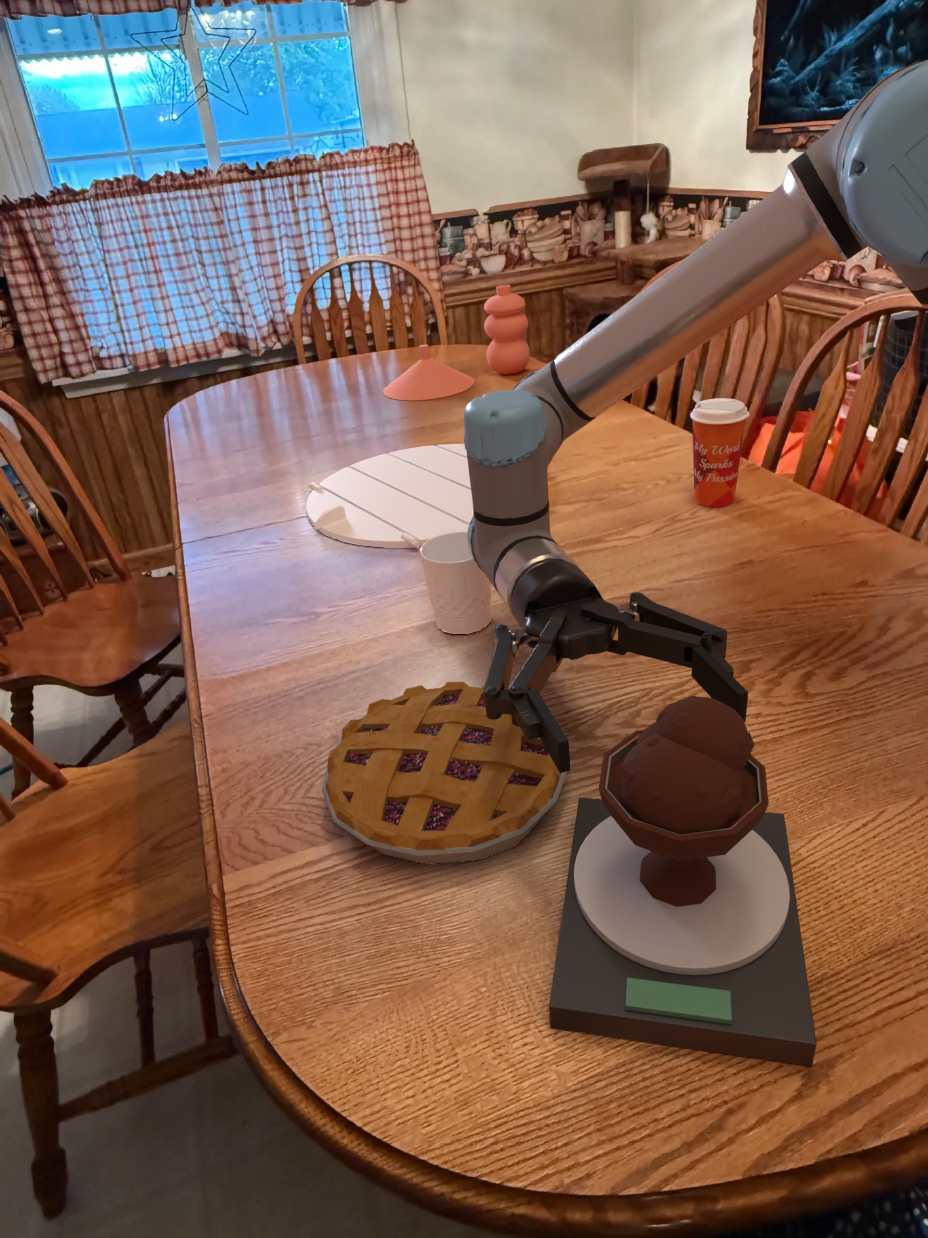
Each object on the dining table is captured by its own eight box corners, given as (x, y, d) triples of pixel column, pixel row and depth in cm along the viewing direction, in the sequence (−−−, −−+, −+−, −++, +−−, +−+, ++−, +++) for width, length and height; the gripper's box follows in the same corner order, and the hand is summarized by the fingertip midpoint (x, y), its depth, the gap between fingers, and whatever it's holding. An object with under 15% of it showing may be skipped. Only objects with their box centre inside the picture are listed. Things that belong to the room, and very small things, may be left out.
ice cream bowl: (632, 804, 66) (632, 648, 58) (776, 851, 60) (798, 686, 52) (575, 900, 58) (567, 737, 50) (733, 964, 53) (752, 792, 45)
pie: (294, 872, 67) (281, 829, 65) (367, 708, 86) (359, 669, 83) (560, 892, 63) (557, 846, 60) (578, 714, 81) (577, 673, 78)
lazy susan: (382, 578, 110) (378, 555, 108) (263, 501, 138) (258, 481, 136) (599, 486, 128) (599, 466, 126) (454, 435, 156) (452, 417, 155)
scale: (781, 835, 65) (785, 805, 64) (812, 1067, 50) (818, 1037, 48) (579, 817, 69) (578, 789, 68) (550, 1029, 54) (547, 999, 52)
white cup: (482, 642, 94) (474, 565, 89) (420, 634, 97) (408, 559, 92) (505, 607, 100) (498, 533, 95) (446, 601, 103) (436, 529, 98)
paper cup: (685, 509, 118) (688, 414, 111) (689, 488, 124) (692, 397, 117) (742, 511, 116) (749, 414, 108) (743, 489, 122) (750, 396, 114)
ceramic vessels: (392, 406, 177) (378, 315, 167) (376, 382, 195) (362, 299, 185) (545, 378, 183) (540, 289, 173) (516, 358, 201) (510, 276, 191)
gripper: (671, 599, 79) (806, 729, 62) (422, 660, 75) (490, 819, 57) (673, 529, 75) (818, 646, 58) (410, 589, 71) (480, 735, 53)
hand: (655, 732), depth 57 cm, fingers open, 13 cm apart
